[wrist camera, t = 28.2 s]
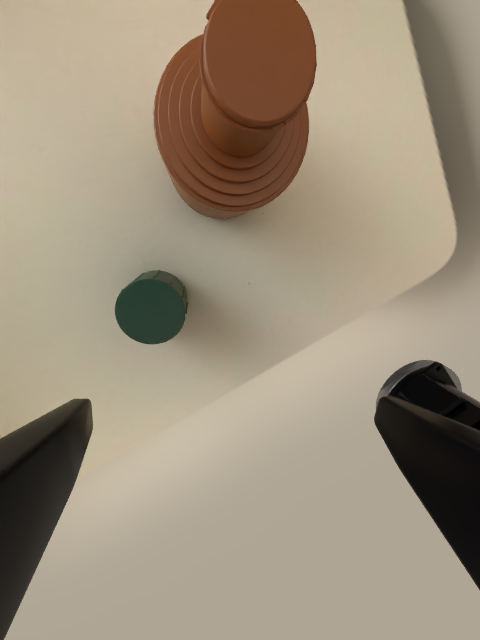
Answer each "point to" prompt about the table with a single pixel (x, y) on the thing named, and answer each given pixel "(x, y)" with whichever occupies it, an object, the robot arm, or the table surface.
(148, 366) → the table surface
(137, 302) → the cap
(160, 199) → the table surface
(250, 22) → the bottle
